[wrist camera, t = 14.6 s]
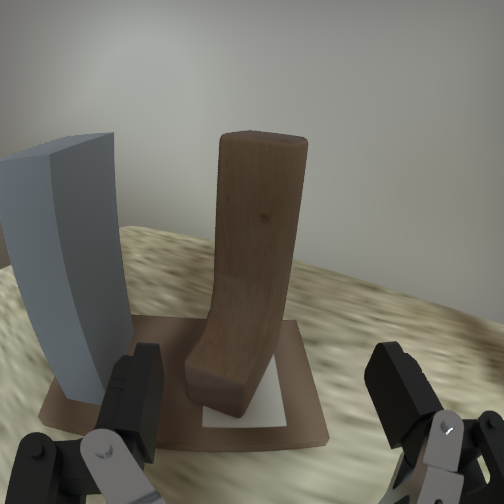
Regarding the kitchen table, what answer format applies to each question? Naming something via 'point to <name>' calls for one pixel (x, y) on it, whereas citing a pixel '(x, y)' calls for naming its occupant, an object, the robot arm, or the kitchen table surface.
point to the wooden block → (248, 266)
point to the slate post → (69, 257)
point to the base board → (204, 418)
